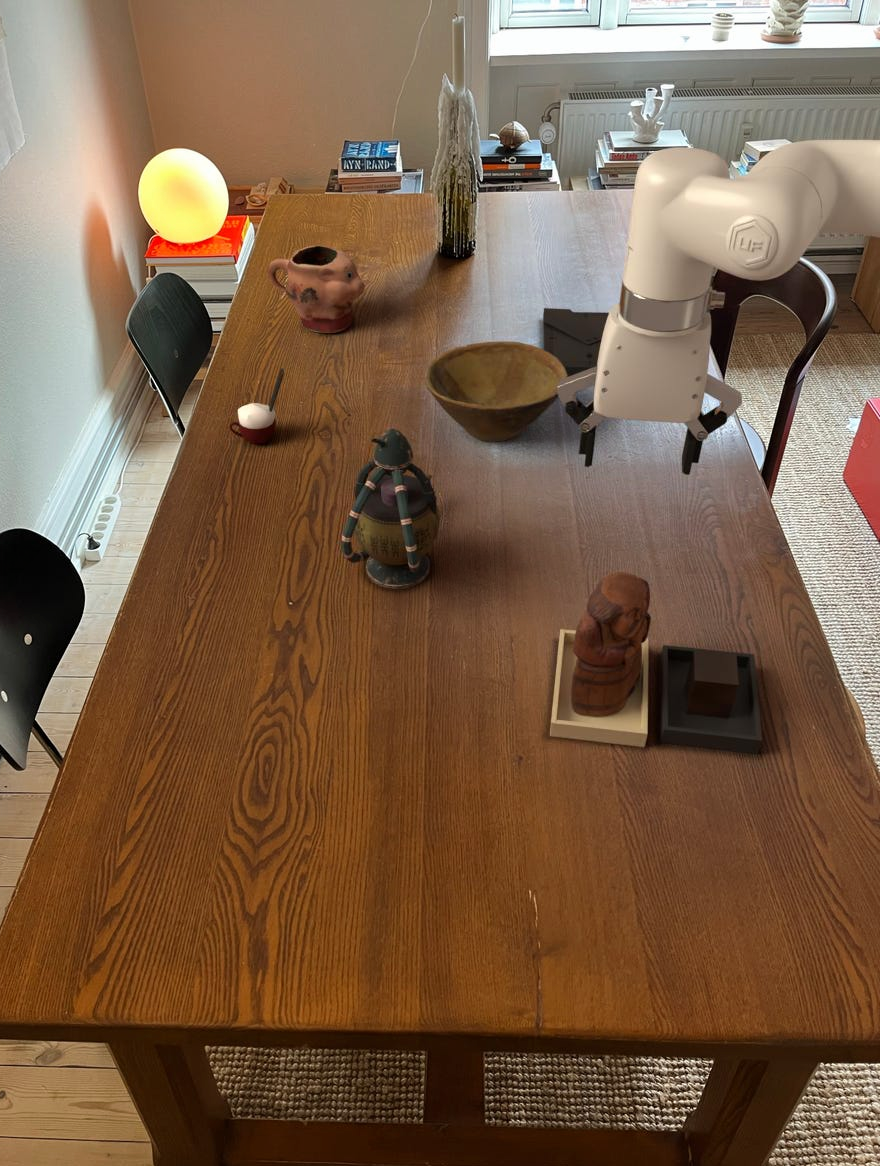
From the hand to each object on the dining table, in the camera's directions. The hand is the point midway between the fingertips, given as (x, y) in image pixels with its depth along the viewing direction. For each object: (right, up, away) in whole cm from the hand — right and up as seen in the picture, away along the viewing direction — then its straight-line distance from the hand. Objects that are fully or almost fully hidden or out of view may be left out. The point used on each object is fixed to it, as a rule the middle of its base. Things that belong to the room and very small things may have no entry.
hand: (636, 463), depth 101 cm
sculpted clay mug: (-40, +44, +96) cm, 113 cm away
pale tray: (+1, -24, +24) cm, 34 cm away
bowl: (-8, +18, +68) cm, 71 cm away
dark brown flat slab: (+11, +36, +85) cm, 93 cm away
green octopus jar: (-23, -5, +45) cm, 51 cm away
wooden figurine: (+2, -24, +24) cm, 34 cm away
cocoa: (-47, +16, +67) cm, 84 cm away
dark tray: (+14, -26, +22) cm, 37 cm away
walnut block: (+14, -25, +22) cm, 36 cm away
